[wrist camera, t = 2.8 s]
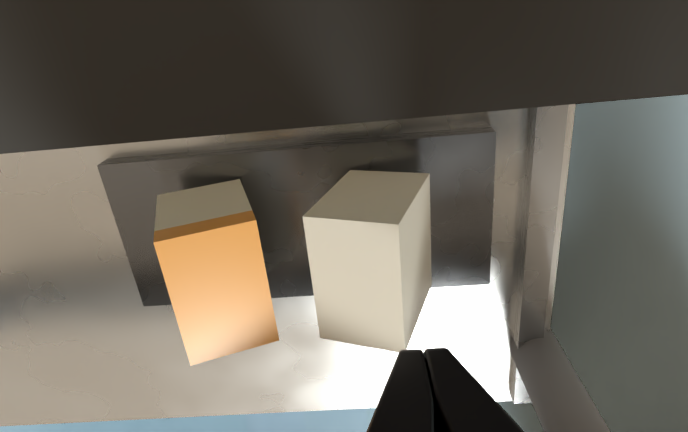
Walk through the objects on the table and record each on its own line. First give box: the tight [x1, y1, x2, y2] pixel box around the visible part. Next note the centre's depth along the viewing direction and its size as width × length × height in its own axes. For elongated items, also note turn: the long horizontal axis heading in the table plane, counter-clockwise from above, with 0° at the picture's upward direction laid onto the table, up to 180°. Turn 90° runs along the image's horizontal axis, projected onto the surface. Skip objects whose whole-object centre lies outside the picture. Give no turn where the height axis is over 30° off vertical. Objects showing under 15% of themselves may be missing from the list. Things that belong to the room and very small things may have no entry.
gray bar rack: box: [0, 0, 688, 432], centre depth 12 cm, size 25×13×8 cm, turn 95°
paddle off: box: [153, 179, 279, 366], centre depth 12 cm, size 2×3×3 cm, turn 5°
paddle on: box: [302, 170, 432, 353], centre depth 12 cm, size 2×3×3 cm, turn 6°
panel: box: [0, 104, 576, 426], centre depth 15 cm, size 24×16×2 cm, turn 95°
